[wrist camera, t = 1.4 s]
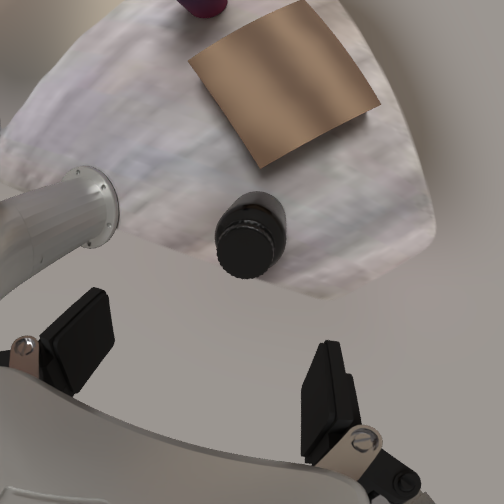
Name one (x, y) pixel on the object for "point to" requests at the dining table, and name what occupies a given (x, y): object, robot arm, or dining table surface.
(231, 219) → the supplement bottle
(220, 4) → the cup
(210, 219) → the dining table surface
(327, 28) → the walnut block
